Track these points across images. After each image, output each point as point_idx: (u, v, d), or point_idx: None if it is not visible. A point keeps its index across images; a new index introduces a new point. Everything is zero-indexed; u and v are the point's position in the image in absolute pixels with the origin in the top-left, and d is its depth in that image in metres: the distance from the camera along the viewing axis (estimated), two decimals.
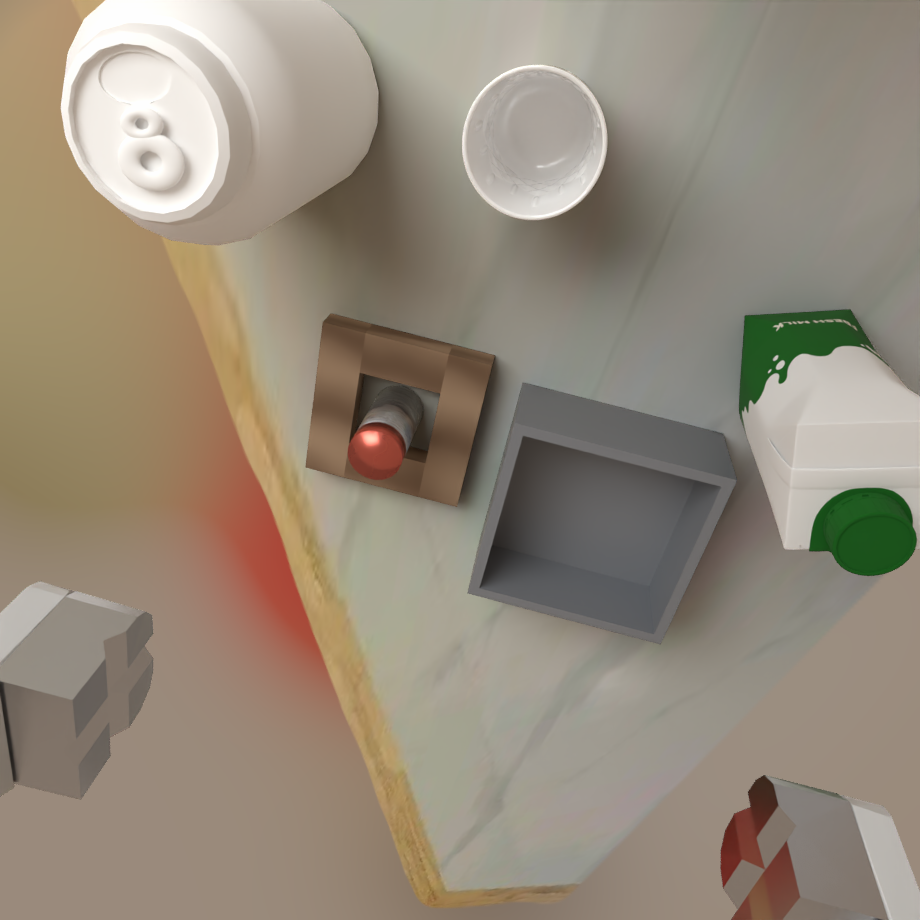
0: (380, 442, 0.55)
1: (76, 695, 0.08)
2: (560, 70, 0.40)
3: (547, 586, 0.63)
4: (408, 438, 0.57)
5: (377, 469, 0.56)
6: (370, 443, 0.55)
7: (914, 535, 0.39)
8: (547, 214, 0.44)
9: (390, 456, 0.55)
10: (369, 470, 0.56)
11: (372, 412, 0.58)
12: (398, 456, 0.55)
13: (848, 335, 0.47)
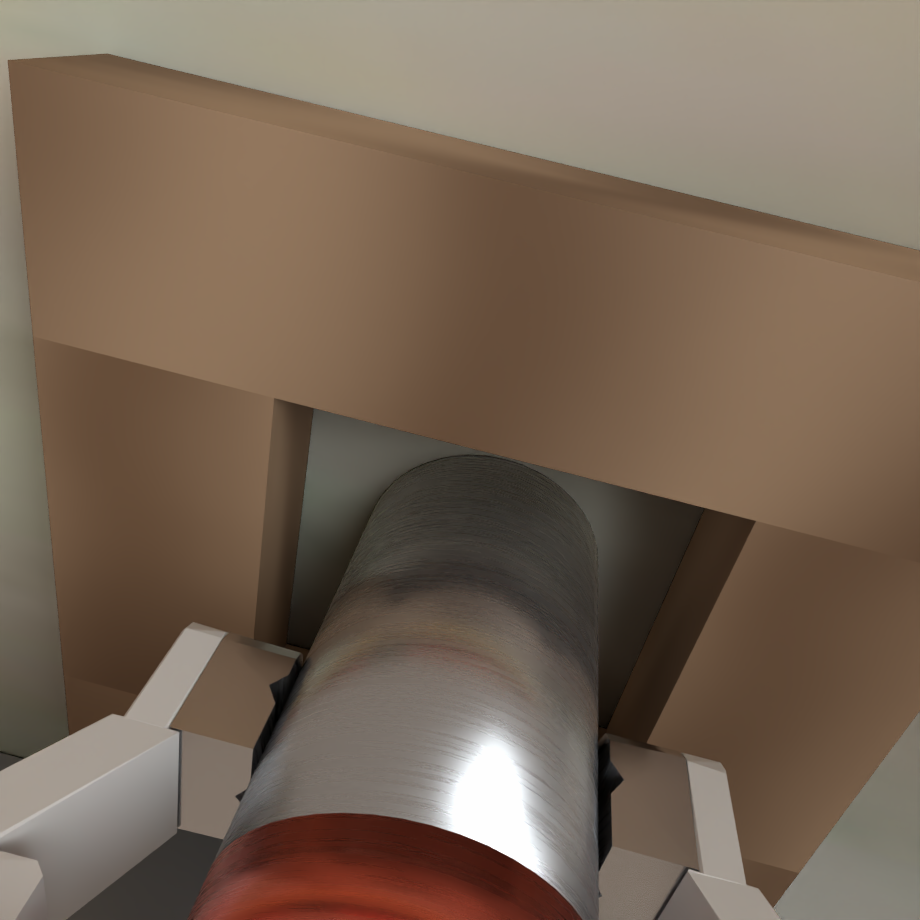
0: None
1: (256, 744, 0.08)
2: None
3: None
4: None
5: None
6: None
7: None
8: None
9: None
10: None
11: (584, 750, 0.09)
12: None
13: None
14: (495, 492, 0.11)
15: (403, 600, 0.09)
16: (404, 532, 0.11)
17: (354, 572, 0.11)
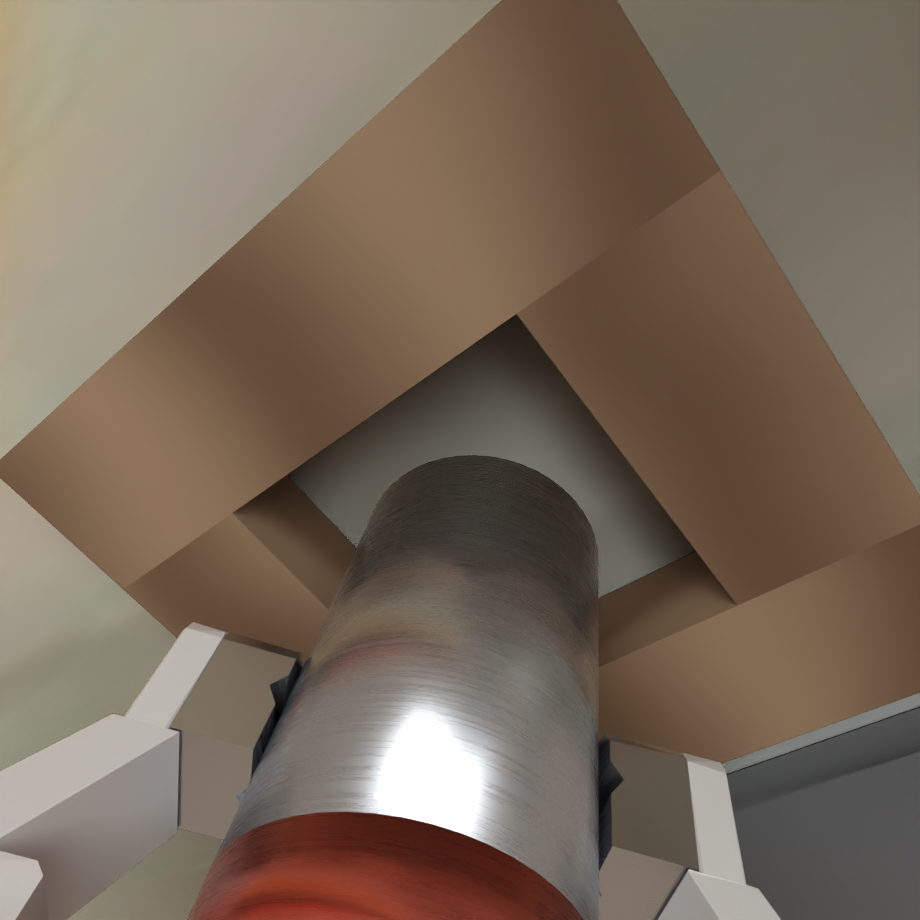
0: None
1: (256, 744, 0.08)
2: None
3: None
4: None
5: None
6: None
7: None
8: None
9: None
10: None
11: (584, 749, 0.09)
12: None
13: None
14: (496, 492, 0.11)
15: (404, 599, 0.09)
16: (405, 531, 0.11)
17: (355, 571, 0.11)
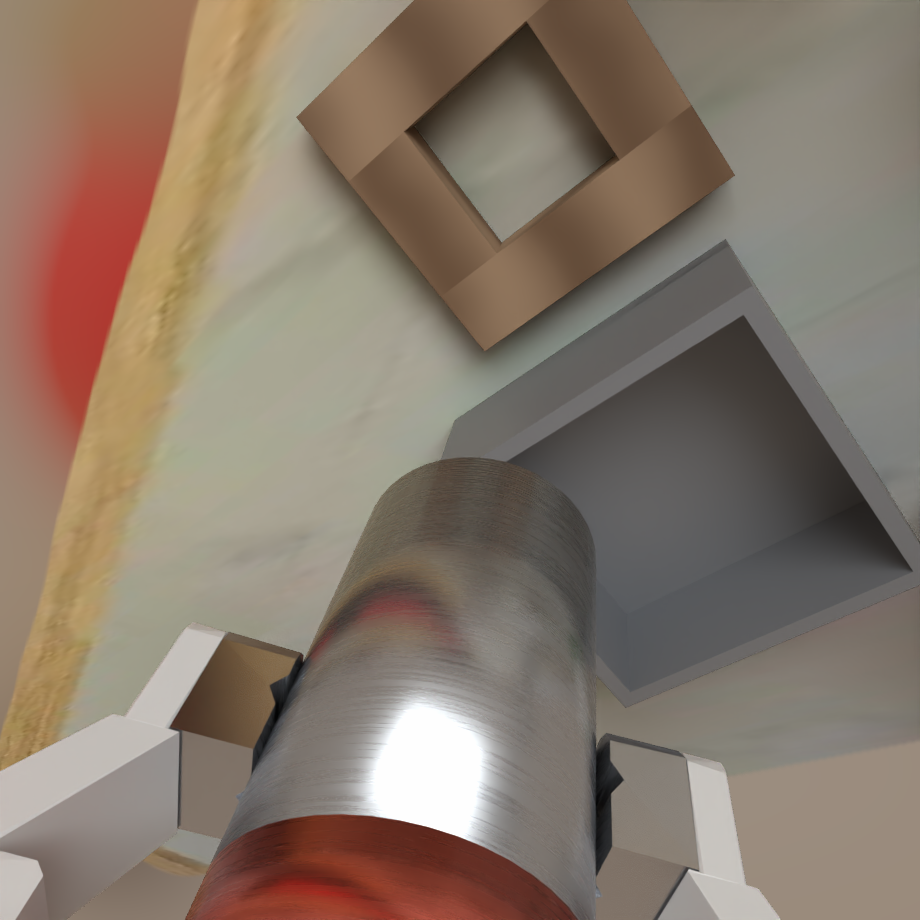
0: None
1: (256, 743, 0.08)
2: None
3: None
4: None
5: None
6: None
7: None
8: None
9: None
10: None
11: (581, 751, 0.09)
12: None
13: None
14: (494, 493, 0.11)
15: (402, 602, 0.09)
16: (403, 534, 0.11)
17: (352, 574, 0.11)
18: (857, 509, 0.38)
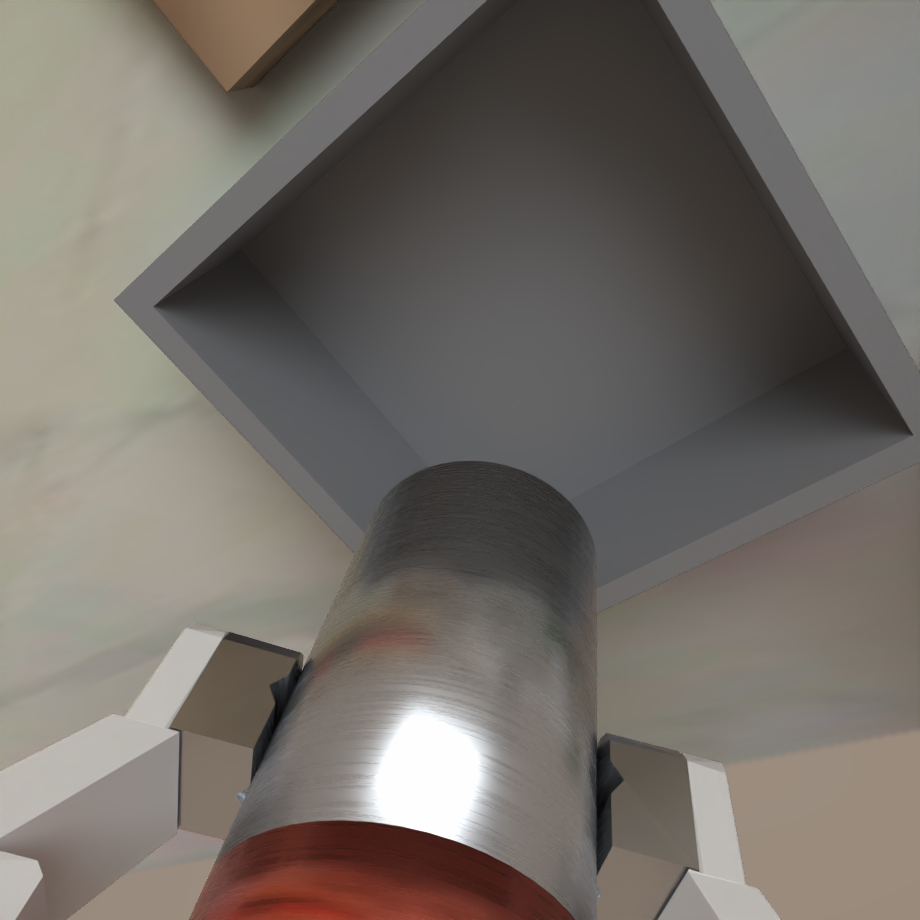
0: None
1: (256, 744, 0.08)
2: None
3: (315, 416, 0.25)
4: None
5: None
6: None
7: None
8: None
9: None
10: None
11: (582, 756, 0.09)
12: None
13: None
14: (494, 497, 0.11)
15: (402, 606, 0.09)
16: (404, 537, 0.11)
17: (353, 577, 0.11)
18: (826, 365, 0.25)
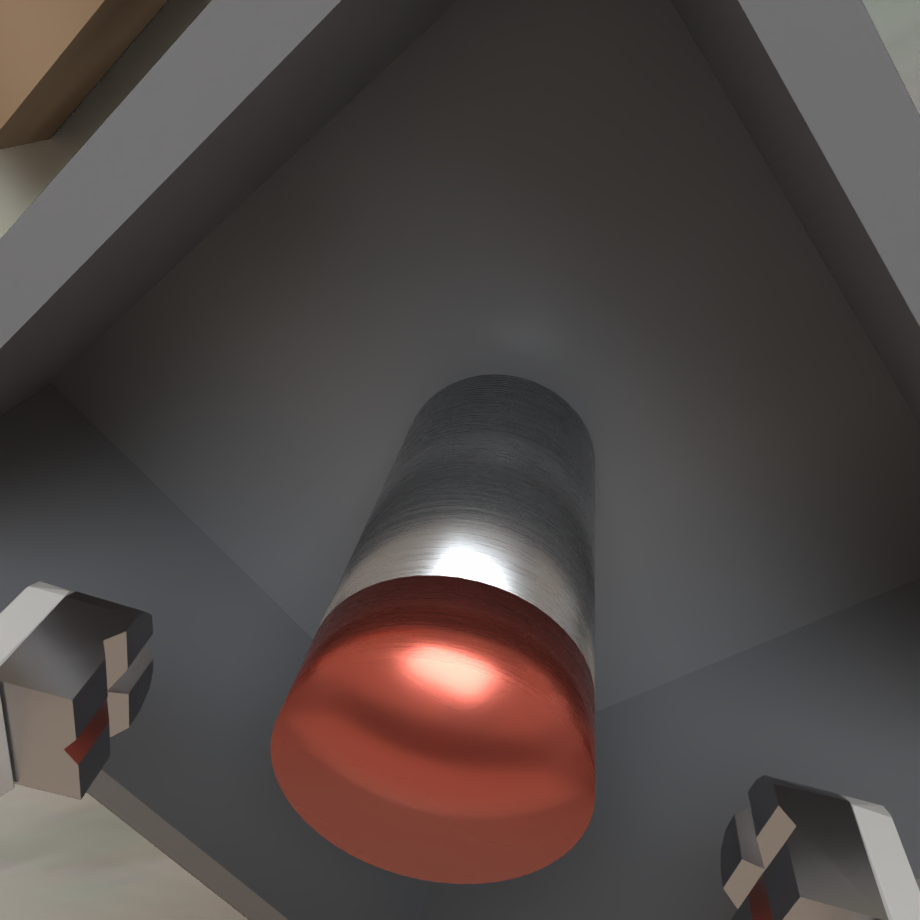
0: (521, 821, 0.10)
1: (76, 695, 0.08)
2: None
3: None
4: None
5: (343, 780, 0.10)
6: (511, 779, 0.09)
7: None
8: None
9: (437, 845, 0.10)
10: (326, 745, 0.09)
11: (584, 566, 0.12)
12: (439, 871, 0.10)
13: None
14: (513, 398, 0.14)
15: (447, 463, 0.12)
16: (443, 424, 0.14)
17: (404, 456, 0.14)
18: None
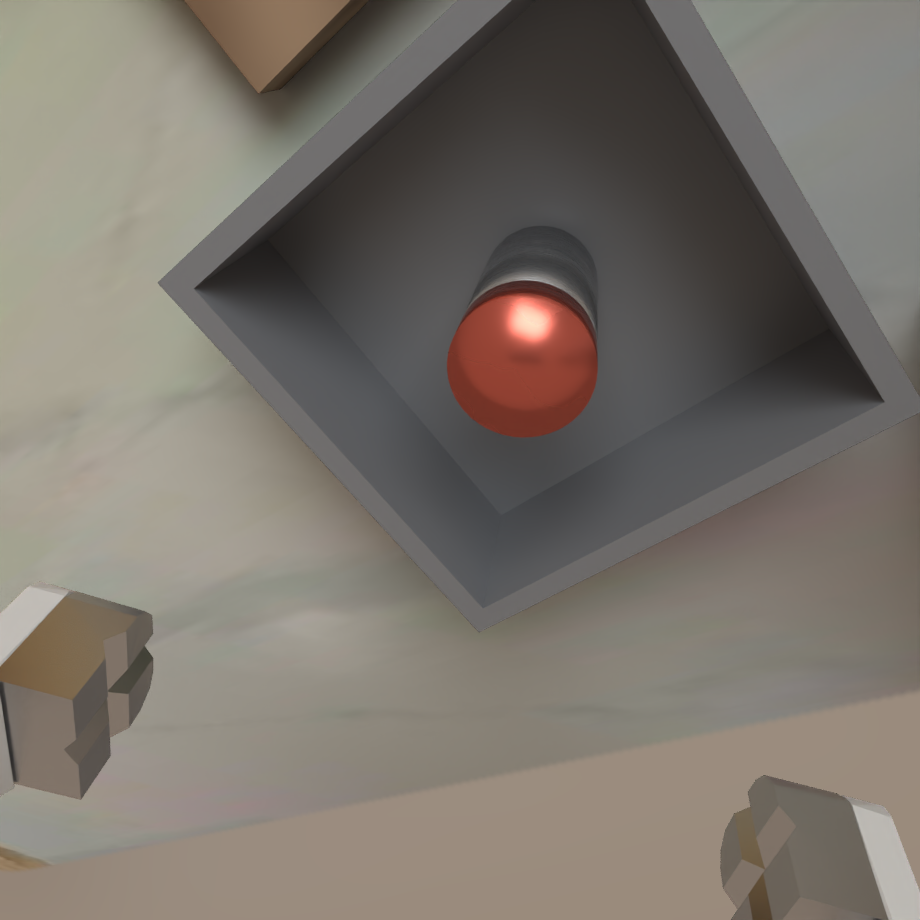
0: (563, 390, 0.21)
1: (76, 695, 0.08)
2: None
3: (338, 392, 0.27)
4: None
5: (480, 374, 0.21)
6: (559, 364, 0.20)
7: None
8: None
9: (523, 412, 0.21)
10: (474, 352, 0.20)
11: (592, 300, 0.23)
12: (522, 429, 0.21)
13: None
14: (551, 233, 0.26)
15: (519, 254, 0.23)
16: (513, 244, 0.25)
17: (491, 261, 0.25)
18: (809, 345, 0.27)
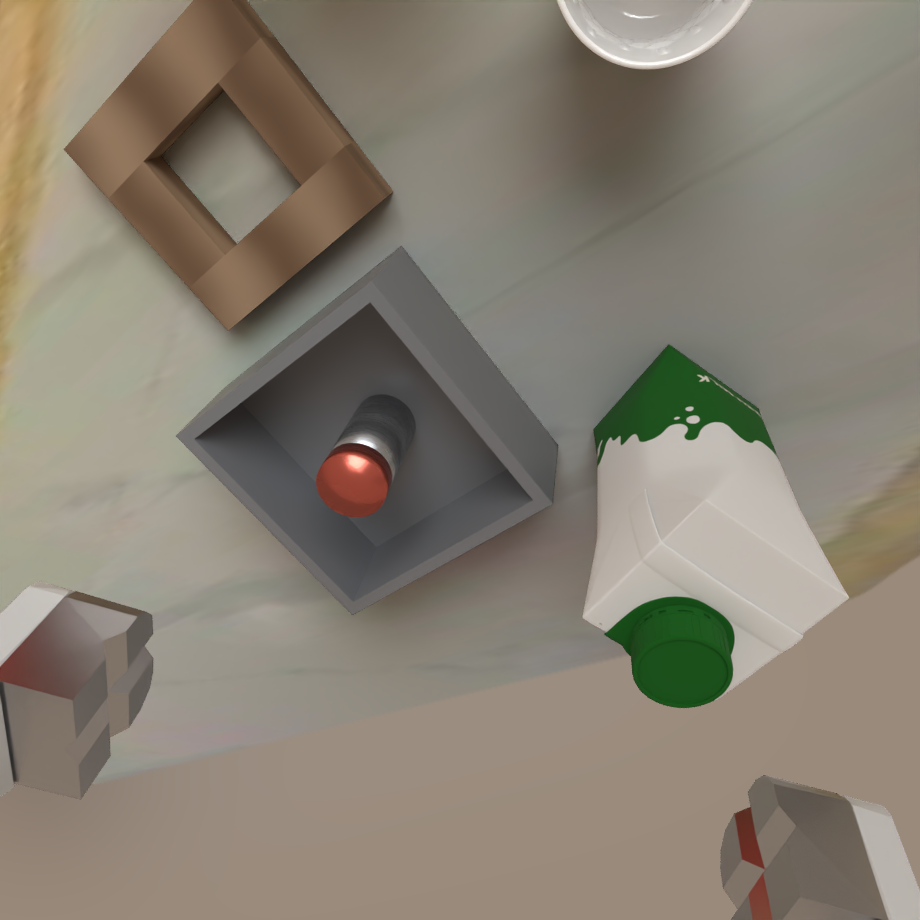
0: (371, 496, 0.43)
1: (76, 695, 0.08)
2: None
3: (272, 484, 0.49)
4: None
5: (332, 488, 0.43)
6: (368, 485, 0.43)
7: (726, 687, 0.31)
8: (606, 52, 0.30)
9: (354, 505, 0.43)
10: (328, 478, 0.43)
11: (395, 446, 0.45)
12: (355, 513, 0.44)
13: (766, 435, 0.39)
14: (385, 401, 0.48)
15: (361, 420, 0.46)
16: (362, 409, 0.47)
17: (351, 418, 0.47)
18: None
